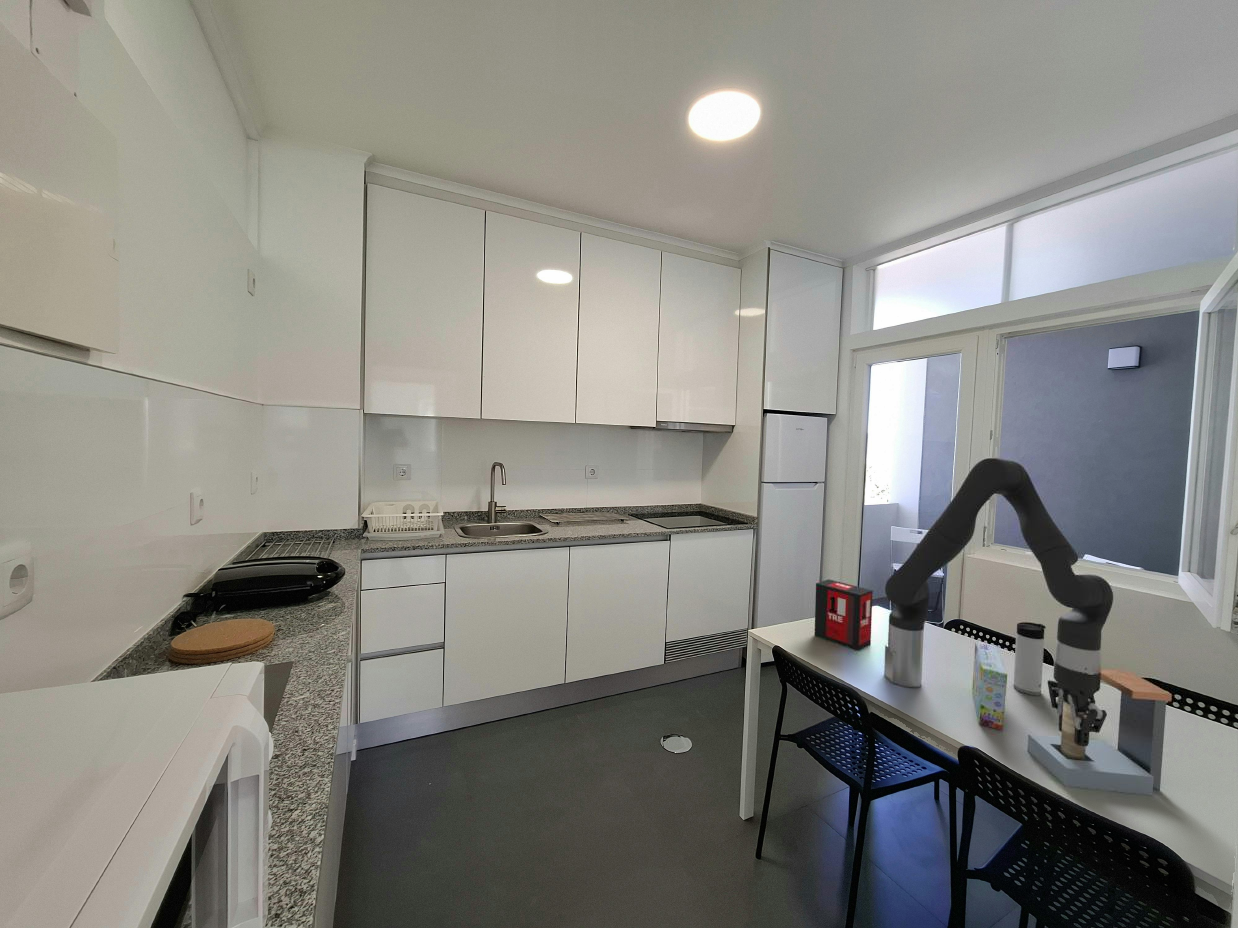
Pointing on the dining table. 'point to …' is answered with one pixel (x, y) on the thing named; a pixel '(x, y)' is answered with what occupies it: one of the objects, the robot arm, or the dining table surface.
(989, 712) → the snack box
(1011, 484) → the robot arm
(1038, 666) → the travel mug
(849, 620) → the cleaning product box
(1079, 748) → the peg
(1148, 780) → the socket block
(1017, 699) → the dining table surface
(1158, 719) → the orange-capped grey pillar
